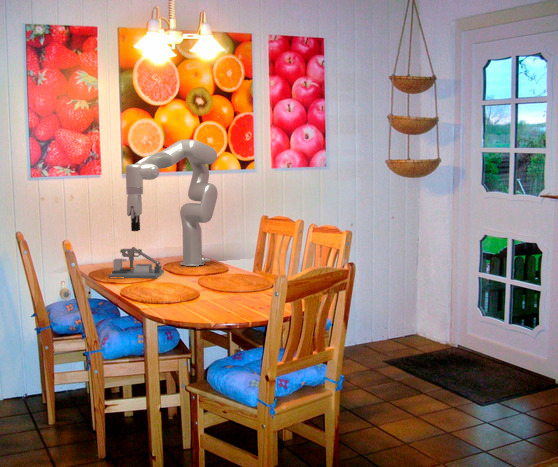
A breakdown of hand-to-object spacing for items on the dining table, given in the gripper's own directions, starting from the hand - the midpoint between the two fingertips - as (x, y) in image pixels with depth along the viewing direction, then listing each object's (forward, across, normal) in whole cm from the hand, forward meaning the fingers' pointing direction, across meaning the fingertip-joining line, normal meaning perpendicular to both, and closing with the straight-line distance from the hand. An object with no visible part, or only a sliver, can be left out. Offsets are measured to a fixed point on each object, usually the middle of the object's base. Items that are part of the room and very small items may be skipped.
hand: (135, 230), depth 320 cm
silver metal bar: (+13, 0, +4) cm, 13 cm away
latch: (+19, 0, -8) cm, 21 cm away
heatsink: (+20, 0, +3) cm, 20 cm away
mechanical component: (+21, -17, -7) cm, 28 cm away
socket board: (+21, 0, 0) cm, 21 cm away
